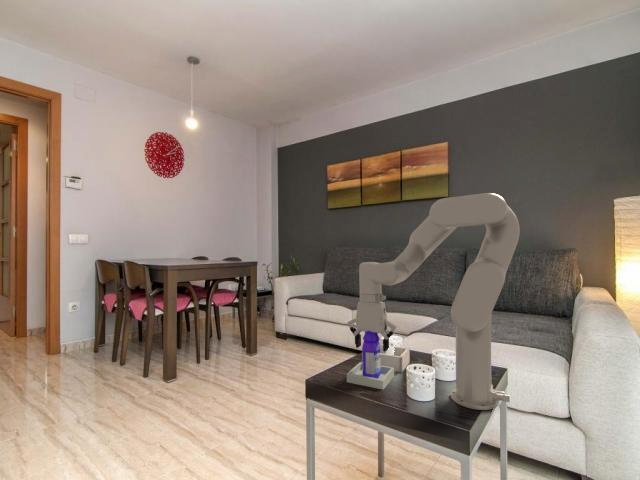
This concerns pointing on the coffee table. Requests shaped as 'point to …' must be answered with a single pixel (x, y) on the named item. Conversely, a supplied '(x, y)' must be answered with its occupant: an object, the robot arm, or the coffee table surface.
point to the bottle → (371, 355)
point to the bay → (395, 358)
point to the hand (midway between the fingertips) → (371, 348)
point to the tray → (379, 383)
